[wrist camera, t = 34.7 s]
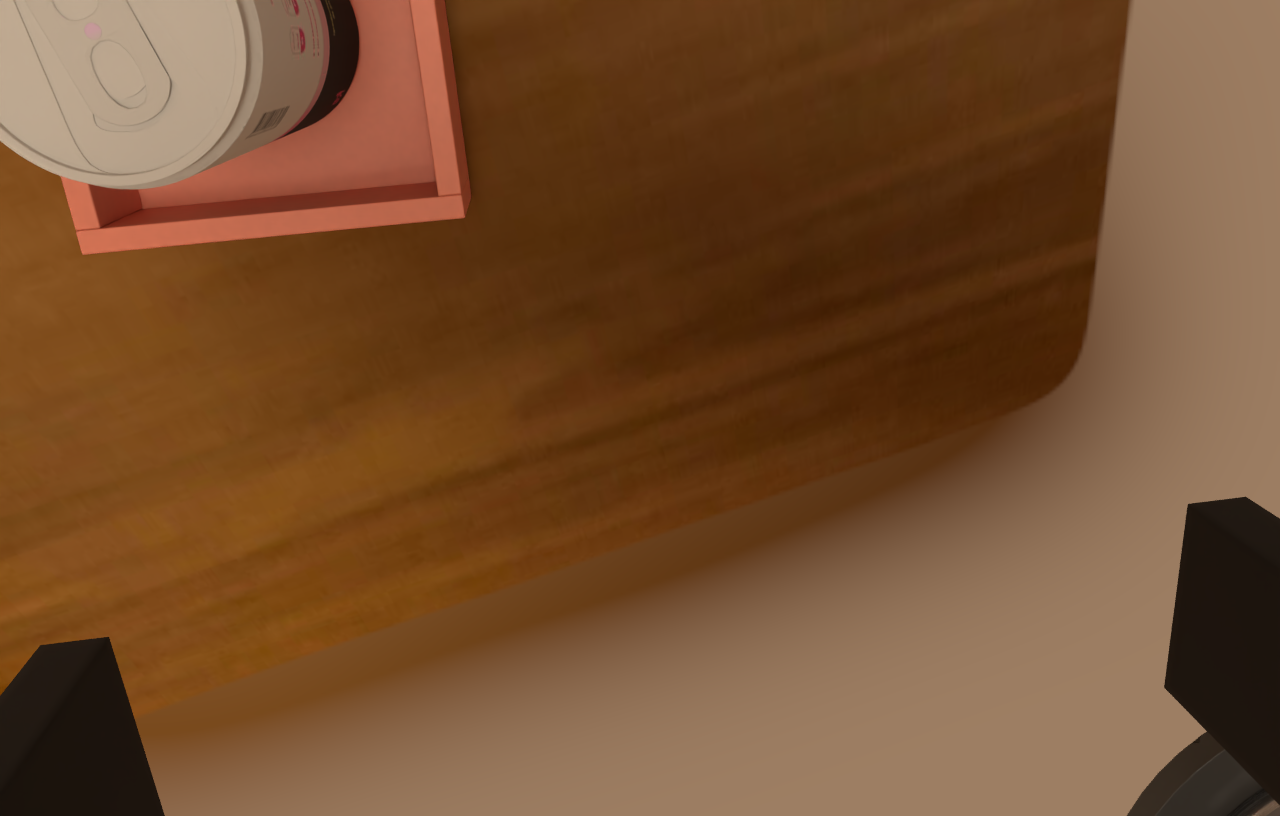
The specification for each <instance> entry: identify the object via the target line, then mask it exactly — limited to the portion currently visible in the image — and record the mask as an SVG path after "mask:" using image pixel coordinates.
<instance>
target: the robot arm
mask: <svg viewBox="0 0 1280 816" xmlns="http://www.w3.org/2000/svg"><path fill="white" fill-rule="evenodd" d="M1164 687H1165V689H1166V690H1167V691H1168V692H1169V693H1170V694H1171V695H1172V696H1173V697H1174V698H1175V699H1176V700H1177V701H1178V702H1179V703H1180V704H1181V705H1182V706H1183V707H1184V708H1185V709H1186V710H1187V711H1188V712H1189V713H1190V714H1191V715H1192V716H1193V717H1194V718H1195V719H1196V720H1197V721H1198V722H1199V724H1200V725H1201V726H1202V727H1203V728H1204V729H1205V730H1206V731H1207V732H1208V733H1209V734H1210V735H1211V736H1212V737H1213V738H1214V739H1215V740H1216V741H1217V742H1218V743H1219V744H1220V745H1221V746H1222V747H1223V748H1224V749H1225V750H1226V751H1227V752H1228V753H1229V754H1230V755H1231V756H1232V757H1233V758H1234V759H1235V760H1236V761H1237V762H1238V763H1239V764H1240V765H1241V766H1242V767H1243V769H1244V770H1245V771H1246V772H1247V773H1248V774H1249V775H1250V776H1251V777H1252V778H1253V779H1254V780H1255V781H1256V782H1257V783H1258V784H1259V785H1260V786H1261V787H1262V788H1263V789H1261V790H1260V791H1258V792H1257V793H1256V794H1254V795H1253V796H1251V797H1250V798H1248V799H1247V800H1246V801H1245V802H1243V803H1242V804H1241V805H1240V806H1238V807H1237V808H1236V809H1235V810H1234V811H1233V812H1232V813H1231V814H1230V815H1229V816H1280V519H1279V518H1278V517H1276V516H1275V515H1273V514H1272V513H1270V512H1268V511H1267V510H1265V509H1264V508H1262V507H1261V506H1259V505H1258V504H1256V503H1255V502H1253V501H1251V500H1250V499H1248V498H1247V497H1241V498H1233V499H1225V500H1217V501H1209V502H1200V503H1192V504H1188V508H1187V515H1186V523H1185V530H1184V538H1183V546H1182V554H1181V561H1180V570H1179V578H1178V585H1177V592H1176V600H1175V608H1174V616H1173V623H1172V632H1171V639H1170V646H1169V654H1168V662H1167V670H1166V677H1165V685H1164ZM0 816H165V815H164V812H163V809H162V806H161V802H160V799H159V797H158V793H157V790H156V786H155V783H154V780H153V777H152V774H151V771H150V767H149V764H148V761H147V758H146V754H145V751H144V748H143V745H142V742H141V738H140V735H139V732H138V729H137V726H136V722H135V719H134V716H133V713H132V710H131V706H130V703H129V700H128V697H127V694H126V690H125V687H124V684H123V681H122V678H121V674H120V671H119V668H118V665H117V662H116V658H115V655H114V652H113V649H112V646H111V642H110V639H109V637H104V638H96V639H88V640H80V641H72V642H64V643H56V644H47V645H40V647H39V648H38V649H37V650H36V652H35V653H34V654H33V655H32V657H31V658H30V659H29V660H28V662H27V663H26V664H25V665H24V667H23V668H22V669H21V670H20V672H19V673H18V674H17V675H16V677H15V678H14V679H13V681H12V682H11V683H10V684H9V686H8V687H7V688H6V689H5V691H4V692H3V693H2V694H1V696H0Z"/></svg>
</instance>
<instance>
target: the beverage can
mask: <svg viewBox="0 0 1280 816" xmlns="http://www.w3.org/2000/svg"><path fill="white" fill-rule="evenodd" d="M358 57H359V32H358V26H357V21H356V17H355V13H354V10H353V7H352V5H351V2H350V0H0V141H1V142H3V143H4V144H5V145H6V146H8V147H9V148H10V149H12V150H13V151H14V152H16V153H17V154H19V155H20V156H22V157H23V158H25V159H26V160H28V161H30V162H32V163H33V164H35V165H37V166H39V167H41V168H43V169H45V170H47V171H49V172H52V173H54V174H57V175H59V176H62V177H65V178H68V179H71V180H75V181H79V182H83V183H88V184H91V185H95V186H101V187H106V188H114V189H131V190H132V189H148V188H156V187H160V186H165V185H169V184H172V183H176V182H179V181H181V180H184V179H187V178H189V177H191V176H194V175H196V174H198V173H201V172H203V171H205V170H208V169H210V168H212V167H215V166H217V165H219V164H222V163H224V162H226V161H229V160H231V159H233V158H236V157H238V156H240V155H243V154H245V153H247V152H250V151H252V150H254V149H257V148H259V147H261V146H264V145H266V144H268V143H271V142H273V141H275V140H278V139H280V138H282V137H285V136H287V135H289V134H292V133H294V132H296V131H299V130H301V129H303V128H306V127H308V126H310V125H312V124H314V123H316V122H318V121H319V120H321V119H322V118H324V117H325V116H327V115H328V114H329V113H330V112H331V111H332V110H333V109H334V108H335V107H336V106H337V105H338V104H339V103H340V101H341V100H342V99H343V97H344V96H345V94H346V93H347V91H348V89H349V87H350V85H351V83H352V81H353V78H354V75H355V72H356V68H357V64H358Z"/></svg>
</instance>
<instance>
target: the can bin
mask: <svg viewBox="0 0 1280 816" xmlns="http://www.w3.org/2000/svg"><path fill="white" fill-rule="evenodd" d="M350 2H351V5H352V7H353V10H354V13H355V17H356V21H357V26H358V32H359V57H358V64H357V68H356V72H355V75H354V78H353V81H352V83H351V85H350V87H349V89H348V91H347V93H346V94H345V96H344V97H343V99H342V100H341V101H340V103H339V104H338V105H337V106H336V107H335V108H334V109H333V110H332V111H331V112H330V113H329V114H328V115H327V116H325V117H324V118H322V119H321V120H319V121H318V122H316V123H314V124H312V125H310V126H308V127H306V128H303V129H301V130H299V131H296V132H294V133H292V134H289V135H287V136H285V137H282V138H280V139H278V140H275V141H273V142H271V143H268V144H266V145H264V146H261V147H259V148H257V149H254V150H252V151H250V152H247V153H245V154H243V155H240V156H238V157H236V158H233V159H231V160H229V161H226V162H224V163H222V164H219V165H217V166H215V167H212V168H210V169H208V170H205V171H203V172H201V173H198V174H196V175H194V176H191V177H189V178H187V179H184V180H181V181H179V182H176V183H172V184H169V185H165V186H160V187H156V188H148V189H132V190H131V189H114V188H106V187H101V186H95V185H91V184H88V183H83V182H79V181H75V180H71V179H68V178H65V177H62V176H61V179H62V183H63V186H64V190H65V193H66V197H67V201H68V204H69V208H70V211H71V215H72V219H73V222H74V226H75V229H76V230H77V231H76V234H77V237H78V241H79V244H80V248H81V252H82V254H83V255H85V254H96V253H106V252H117V251H127V250H137V249H148V248H158V247H168V246H179V245H189V244H200V243H210V242H220V241H231V240H241V239H251V238H262V237H272V236H283V235H293V234H303V233H314V232H324V231H334V230H345V229H355V228H366V227H376V226H386V225H397V224H407V223H418V222H428V221H438V220H449V219H459V218H465V215H466V212H467V209H468V206H469V203H470V200H471V197H472V196H471V189H470V182H469V174H468V167H467V160H466V153H465V145H464V138H463V131H462V123H461V116H460V109H459V101H458V94H457V87H456V79H455V72H454V65H453V57H452V50H451V43H450V35H449V28H448V21H447V13H446V6H445V0H350Z"/></svg>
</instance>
